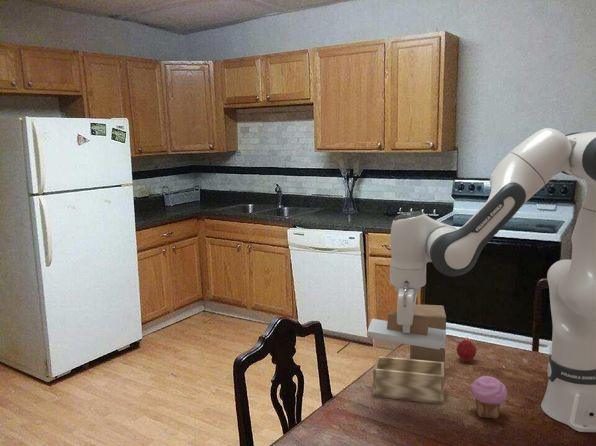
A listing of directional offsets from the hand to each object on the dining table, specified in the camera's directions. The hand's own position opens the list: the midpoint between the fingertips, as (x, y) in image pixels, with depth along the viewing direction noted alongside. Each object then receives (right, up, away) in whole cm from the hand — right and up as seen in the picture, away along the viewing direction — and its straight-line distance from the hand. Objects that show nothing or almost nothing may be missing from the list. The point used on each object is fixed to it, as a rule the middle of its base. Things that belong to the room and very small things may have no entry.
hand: (406, 329), depth 129 cm
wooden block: (+12, -19, +28) cm, 35 cm away
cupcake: (+22, -23, +3) cm, 32 cm away
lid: (0, -2, 0) cm, 2 cm away
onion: (+26, -18, +34) cm, 46 cm away
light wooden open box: (+4, -21, +15) cm, 26 cm away
